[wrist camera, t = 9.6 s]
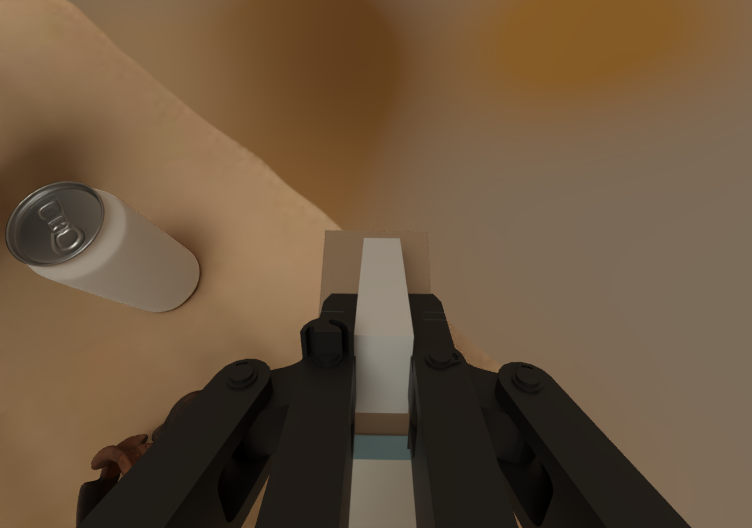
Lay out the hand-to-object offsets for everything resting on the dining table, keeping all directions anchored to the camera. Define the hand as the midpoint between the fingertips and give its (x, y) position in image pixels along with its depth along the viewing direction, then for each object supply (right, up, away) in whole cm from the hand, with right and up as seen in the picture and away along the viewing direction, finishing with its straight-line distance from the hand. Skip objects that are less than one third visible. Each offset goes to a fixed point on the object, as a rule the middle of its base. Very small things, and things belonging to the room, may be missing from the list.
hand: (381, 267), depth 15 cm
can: (-19, -1, +17) cm, 26 cm away
